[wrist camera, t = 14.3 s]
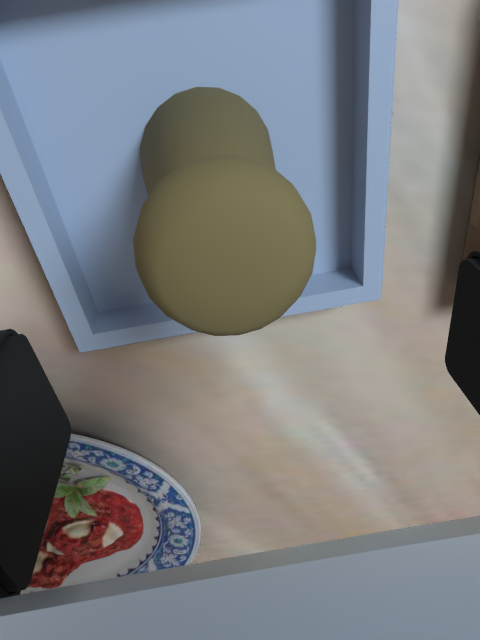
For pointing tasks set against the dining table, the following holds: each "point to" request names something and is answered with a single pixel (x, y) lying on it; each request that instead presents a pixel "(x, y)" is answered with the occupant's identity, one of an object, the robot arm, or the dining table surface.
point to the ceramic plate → (113, 519)
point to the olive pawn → (219, 217)
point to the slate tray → (153, 90)
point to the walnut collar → (474, 221)
